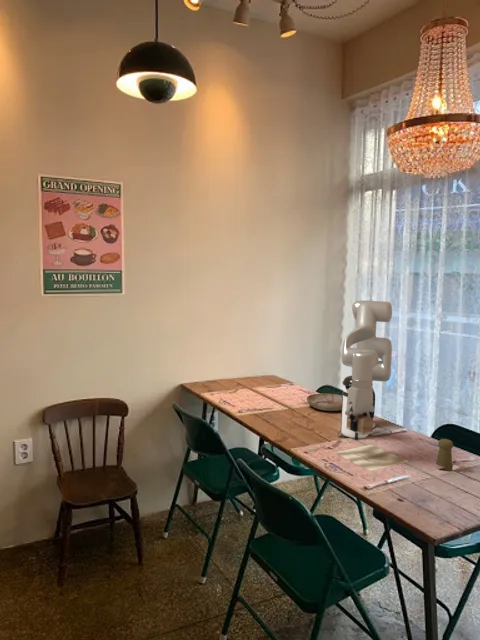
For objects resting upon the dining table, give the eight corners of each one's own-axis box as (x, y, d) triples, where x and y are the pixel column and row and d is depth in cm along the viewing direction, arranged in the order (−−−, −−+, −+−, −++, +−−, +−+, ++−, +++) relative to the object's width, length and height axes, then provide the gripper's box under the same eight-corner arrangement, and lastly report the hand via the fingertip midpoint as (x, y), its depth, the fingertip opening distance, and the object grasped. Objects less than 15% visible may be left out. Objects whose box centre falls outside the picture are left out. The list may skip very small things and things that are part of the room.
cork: (438, 463, 193) (440, 436, 191) (454, 467, 189) (456, 439, 188) (433, 468, 188) (435, 440, 187) (449, 472, 184) (451, 444, 183)
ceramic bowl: (297, 404, 271) (298, 395, 270) (333, 400, 281) (334, 391, 280) (322, 416, 250) (322, 406, 249) (359, 411, 260) (360, 402, 259)
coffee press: (375, 445, 210) (379, 375, 207) (337, 441, 214) (340, 373, 210) (373, 432, 227) (376, 367, 224) (337, 429, 230) (340, 365, 227)
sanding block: (346, 428, 197) (347, 413, 196) (355, 426, 199) (356, 412, 199) (362, 435, 189) (363, 419, 188) (372, 433, 191) (373, 418, 191)
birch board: (333, 456, 197) (333, 452, 197) (370, 448, 207) (370, 444, 207) (370, 475, 180) (370, 471, 180) (408, 465, 190) (409, 461, 190)
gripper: (370, 379, 200) (368, 424, 202) (338, 383, 191) (335, 429, 193) (384, 383, 193) (382, 429, 195) (351, 388, 185) (349, 435, 186)
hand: (359, 429), depth 194 cm, fingers closed on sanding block, 5 cm apart
